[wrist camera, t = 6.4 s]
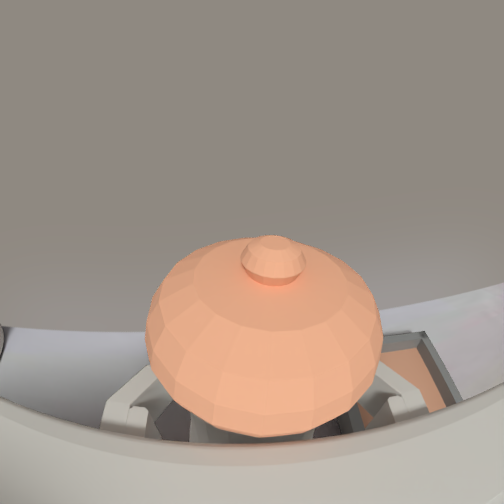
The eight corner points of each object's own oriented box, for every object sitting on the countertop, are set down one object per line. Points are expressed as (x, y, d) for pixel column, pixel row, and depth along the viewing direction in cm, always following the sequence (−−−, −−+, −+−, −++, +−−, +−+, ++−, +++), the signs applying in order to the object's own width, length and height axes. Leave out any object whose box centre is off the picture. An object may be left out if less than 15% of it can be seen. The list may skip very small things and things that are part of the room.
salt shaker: (259, 417, 21) (293, 182, 11) (313, 480, 16) (461, 273, 6) (180, 453, 18) (102, 217, 8) (228, 528, 12) (204, 455, 3)
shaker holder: (370, 575, 8) (385, 576, 6) (321, 357, 28) (326, 341, 26) (487, 515, 9) (505, 507, 7) (416, 346, 28) (424, 331, 27)
